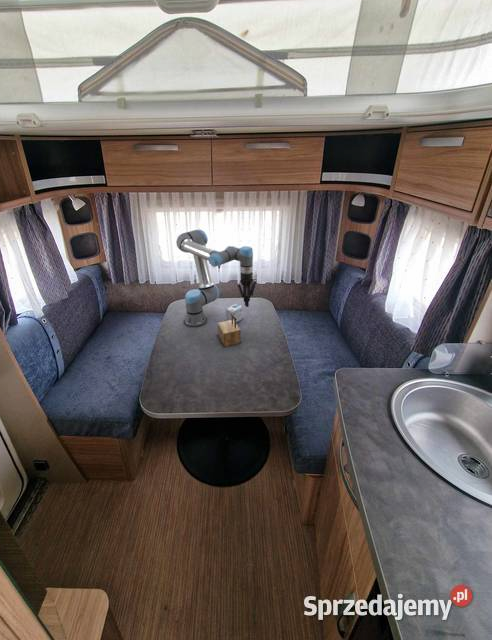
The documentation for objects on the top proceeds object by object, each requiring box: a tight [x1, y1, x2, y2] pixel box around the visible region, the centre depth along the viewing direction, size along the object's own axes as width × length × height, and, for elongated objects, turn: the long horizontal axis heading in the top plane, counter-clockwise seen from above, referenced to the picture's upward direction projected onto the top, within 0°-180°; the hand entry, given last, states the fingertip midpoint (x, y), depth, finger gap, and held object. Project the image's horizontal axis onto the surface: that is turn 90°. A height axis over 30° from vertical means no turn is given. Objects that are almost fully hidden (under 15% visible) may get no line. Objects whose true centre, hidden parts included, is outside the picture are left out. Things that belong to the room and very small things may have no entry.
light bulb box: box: [225, 303, 243, 323], centre depth 206 cm, size 11×7×11 cm, turn 134°
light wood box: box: [217, 313, 242, 348], centre depth 184 cm, size 11×13×17 cm
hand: (246, 305), depth 181 cm, fingers closed
